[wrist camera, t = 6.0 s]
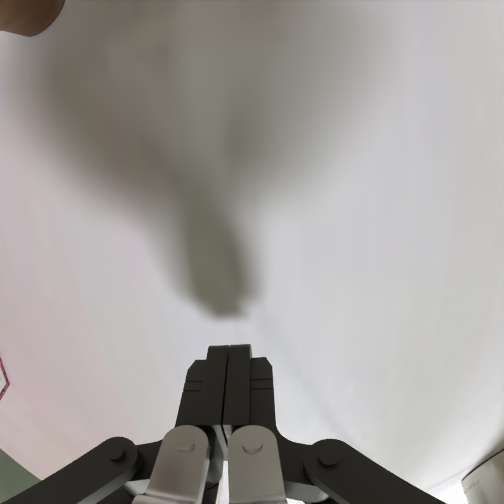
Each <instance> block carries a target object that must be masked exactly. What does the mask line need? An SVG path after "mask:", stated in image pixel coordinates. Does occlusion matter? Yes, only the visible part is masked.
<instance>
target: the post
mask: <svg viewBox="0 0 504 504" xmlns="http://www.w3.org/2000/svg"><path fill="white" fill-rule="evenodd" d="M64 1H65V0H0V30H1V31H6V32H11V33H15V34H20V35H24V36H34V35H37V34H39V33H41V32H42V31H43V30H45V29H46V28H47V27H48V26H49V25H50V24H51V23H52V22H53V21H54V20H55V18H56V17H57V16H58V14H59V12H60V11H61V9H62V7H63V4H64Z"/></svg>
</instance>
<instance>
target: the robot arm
mask: <svg viewBox="0 0 504 504" xmlns="http://www.w3.org/2000/svg"><path fill="white" fill-rule="evenodd" d="M223 461H228V479H229V504H288V503H287V500H286V498H290V499H295V500H300V501H303V502H304V503H305V504H446V503H444V502H443V501H441V500H439V499H437V498H435V497H433V496H431V495H429V494H428V493H426V492H424V491H422V490H420V489H419V488H417V487H415V486H413V485H412V484H410V483H408V482H406V481H405V480H403V479H401V478H400V477H398V476H396V475H395V474H393V473H391V472H390V471H388V470H386V469H385V468H383V467H382V466H380V465H378V464H377V463H375V462H374V461H372V460H371V459H369V458H367V457H366V456H364V455H363V454H361V453H360V452H358V451H357V450H355V449H354V448H352V447H351V446H349V445H348V444H347V443H345V442H343V441H340V440H337V439H324V440H320V441H318V442H316V443H314V444H313V445H306V444H301V443H296V442H292V441H290V440H288V439H286V438H284V437H283V436H282V435H281V434H280V433H279V431H278V430H277V427H276V420H275V404H274V388H273V373H272V366H271V364H270V363H269V361H268V360H267V358H266V357H260V358H252V351H251V344H242V345H230V346H229V345H222V346H209V348H208V353H207V358H206V360H195V361H194V363H193V364H192V365H191V366H190V368H189V369H188V371H187V376H186V380H185V384H184V389H183V393H182V397H181V402H180V406H179V411H178V415H177V420H176V424H175V427H174V428H173V429H171V430H170V431H169V432H168V433H167V434H166V435H165V436H164V438H163V439H162V440H160V441H157V442H153V443H147V444H141V445H135V444H134V443H133V442H132V441H131V440H129V439H127V438H124V437H113V438H110V439H107V440H106V441H104V442H103V443H101V444H100V445H98V446H97V447H95V448H93V449H92V450H90V451H89V452H87V453H86V454H84V455H83V456H81V457H80V458H78V459H77V460H75V461H73V462H72V463H70V464H69V465H67V466H65V467H64V468H62V469H61V470H59V471H57V472H56V473H54V474H52V475H51V476H49V477H47V478H46V479H44V480H42V481H41V482H39V483H37V484H35V485H34V486H32V487H30V488H28V489H27V490H25V491H23V492H22V493H20V494H18V495H16V496H14V497H12V498H10V499H9V500H7V501H5V502H3V503H1V504H219V502H220V496H221V490H222V484H223V475H222V473H223ZM461 484H462V486H463V489H464V493H465V494H466V497H467V500H468V503H469V504H504V450H503V451H502V452H500V453H499V454H497V455H495V456H494V457H492V458H491V459H489V460H488V461H487V462H485V463H484V464H482V465H481V466H480V467H478V468H477V469H476V470H474V471H473V472H472V473H471V474H469V475H468V476H467V477H466V478H465V479H464V480H463V481H462V483H461Z"/></svg>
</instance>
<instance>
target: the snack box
mask: <svg viewBox="0 0 504 504" xmlns="http://www.w3.org/2000/svg"><path fill="white" fill-rule="evenodd" d="M8 387H9V382H8V380H7V377H6V374H5V372H4V369H3V366H2V363H1V360H0V400H1V398H2V397H3V395H4V394H5V392H6V390H7V389H8Z"/></svg>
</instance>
